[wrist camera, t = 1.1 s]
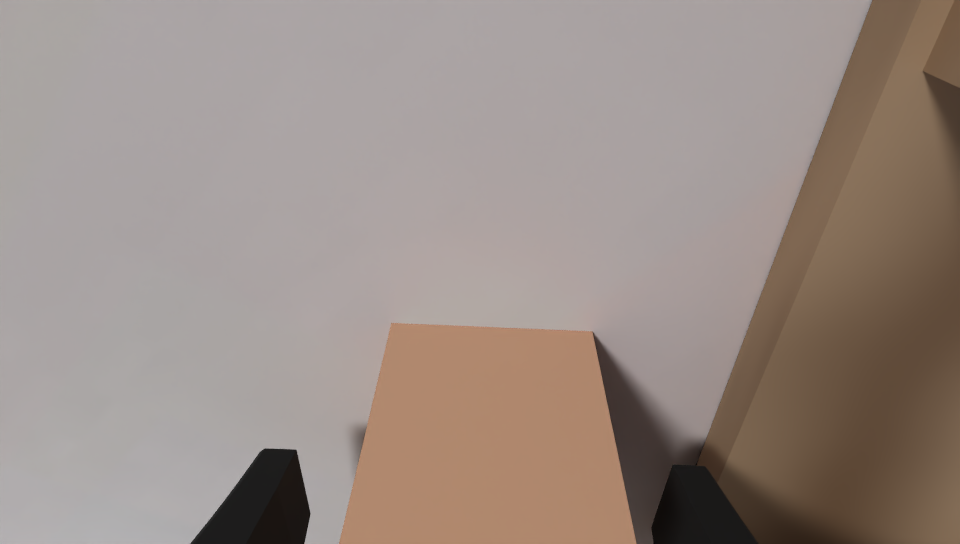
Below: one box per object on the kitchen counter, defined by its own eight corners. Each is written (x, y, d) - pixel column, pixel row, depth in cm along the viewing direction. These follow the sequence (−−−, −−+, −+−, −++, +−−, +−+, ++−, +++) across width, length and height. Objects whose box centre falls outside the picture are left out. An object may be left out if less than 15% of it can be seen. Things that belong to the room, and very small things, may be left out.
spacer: (592, 329, 12) (643, 579, 8) (563, 484, 14) (590, 728, 10) (391, 321, 12) (334, 566, 8) (402, 477, 14) (364, 719, 10)
